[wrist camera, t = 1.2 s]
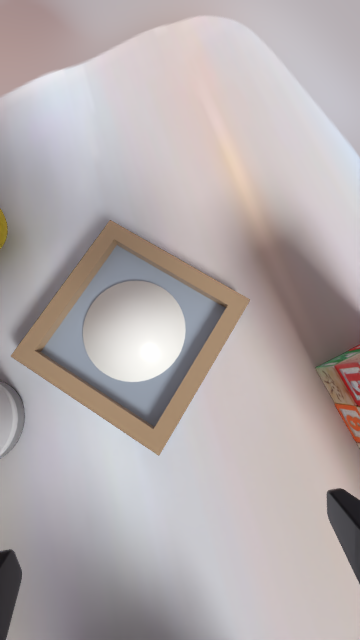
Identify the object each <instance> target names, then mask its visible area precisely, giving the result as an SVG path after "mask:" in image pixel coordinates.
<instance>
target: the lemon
mask: <svg viewBox="0 0 360 640" xmlns="http://www.w3.org/2000/svg"><path fill="white" fill-rule="evenodd" d="M7 233H8V231H7V222H6V219H5V216H4V214H3V212H2V210H1V209H0V249H1V248H2V246H3V245H4V243H5V241H6V237H7Z"/></svg>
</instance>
